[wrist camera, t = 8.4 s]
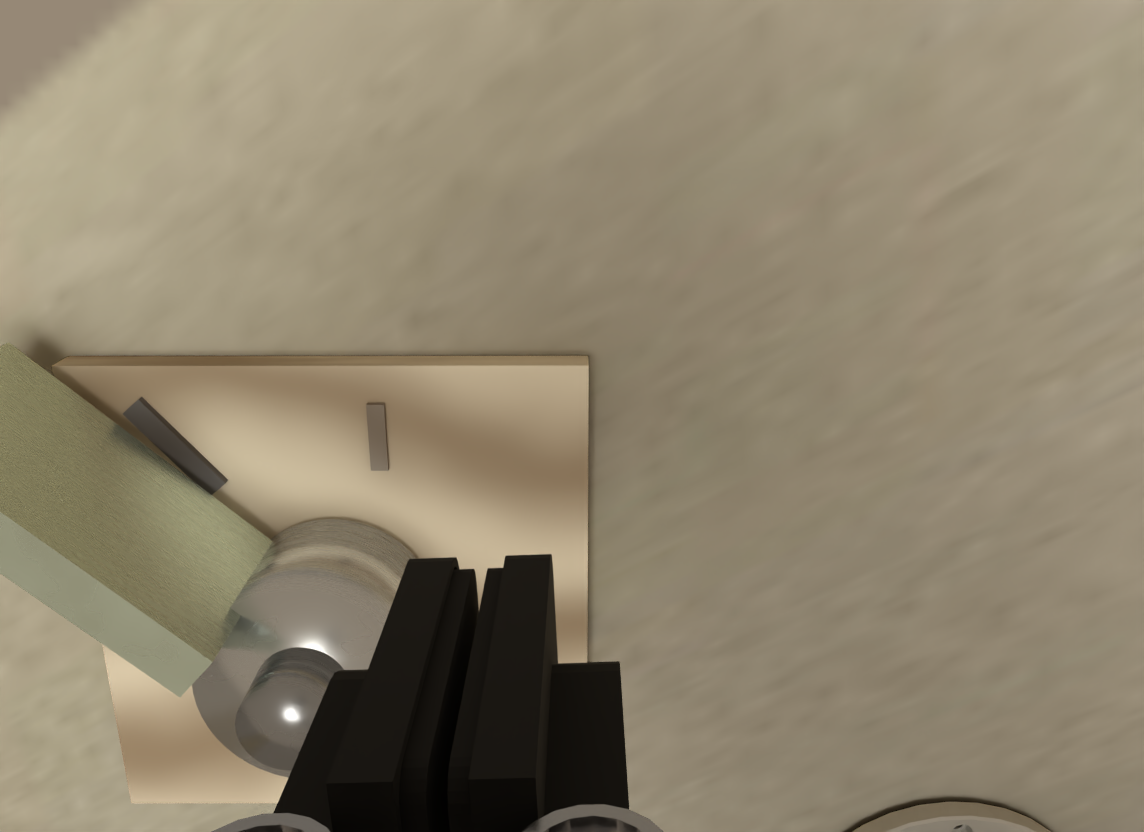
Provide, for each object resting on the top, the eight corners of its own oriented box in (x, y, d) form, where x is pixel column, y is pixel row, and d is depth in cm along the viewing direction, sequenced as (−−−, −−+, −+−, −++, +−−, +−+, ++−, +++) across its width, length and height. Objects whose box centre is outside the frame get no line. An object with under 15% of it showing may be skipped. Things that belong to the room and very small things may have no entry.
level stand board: (586, 782, 40) (586, 808, 39) (143, 782, 40) (128, 808, 39) (588, 355, 34) (588, 368, 33) (68, 356, 34) (46, 368, 33)
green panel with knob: (475, 601, 36) (451, 733, 29) (355, 721, 37) (304, 874, 30) (61, 278, 32) (-86, 338, 25) (-52, 429, 33) (-219, 525, 26)
